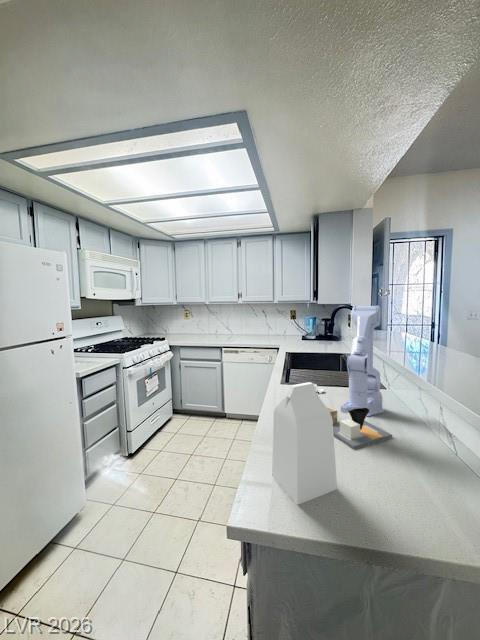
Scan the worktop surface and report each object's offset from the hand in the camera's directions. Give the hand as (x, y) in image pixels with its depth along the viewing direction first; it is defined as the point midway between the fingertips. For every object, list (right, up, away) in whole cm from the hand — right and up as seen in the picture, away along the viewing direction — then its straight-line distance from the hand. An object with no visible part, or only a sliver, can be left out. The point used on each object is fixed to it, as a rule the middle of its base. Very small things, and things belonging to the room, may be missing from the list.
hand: (357, 428), depth 92 cm
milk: (-24, -5, -22) cm, 33 cm away
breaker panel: (+1, -2, 0) cm, 2 cm away
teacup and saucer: (-2, 0, +41) cm, 41 cm away
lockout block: (-6, -2, +11) cm, 12 cm away
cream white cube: (-3, -1, -1) cm, 4 cm away
